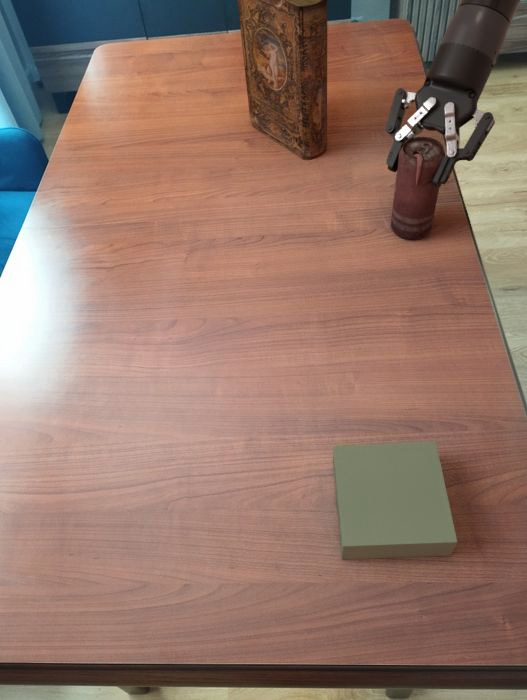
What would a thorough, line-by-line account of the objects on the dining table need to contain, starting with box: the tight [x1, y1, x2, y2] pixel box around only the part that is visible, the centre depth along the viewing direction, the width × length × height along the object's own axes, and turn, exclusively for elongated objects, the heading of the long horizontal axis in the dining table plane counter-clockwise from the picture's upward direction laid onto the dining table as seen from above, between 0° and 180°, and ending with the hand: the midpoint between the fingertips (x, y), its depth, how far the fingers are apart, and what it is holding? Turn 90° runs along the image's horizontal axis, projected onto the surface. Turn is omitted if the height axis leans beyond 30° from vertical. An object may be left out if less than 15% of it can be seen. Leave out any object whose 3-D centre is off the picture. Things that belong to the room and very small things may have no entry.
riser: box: [332, 440, 458, 560], centre depth 61 cm, size 11×11×4 cm
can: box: [390, 136, 446, 241], centre depth 84 cm, size 6×6×14 cm
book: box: [237, 0, 329, 161], centre depth 97 cm, size 16×6×25 cm, turn 39°
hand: (413, 177), depth 80 cm, fingers closed on can, 6 cm apart
